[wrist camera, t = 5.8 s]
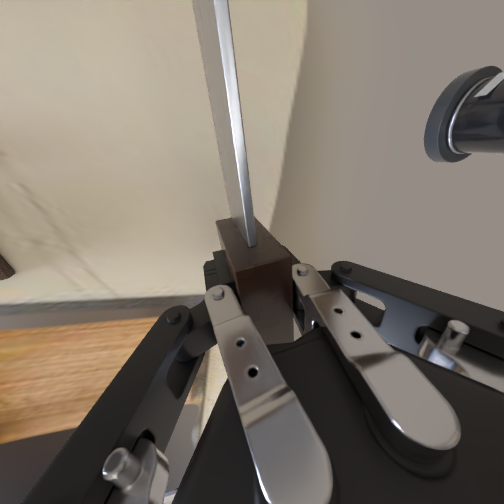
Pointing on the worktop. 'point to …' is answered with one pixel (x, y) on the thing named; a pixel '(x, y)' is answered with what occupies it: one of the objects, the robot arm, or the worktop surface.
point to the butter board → (5, 270)
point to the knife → (242, 189)
